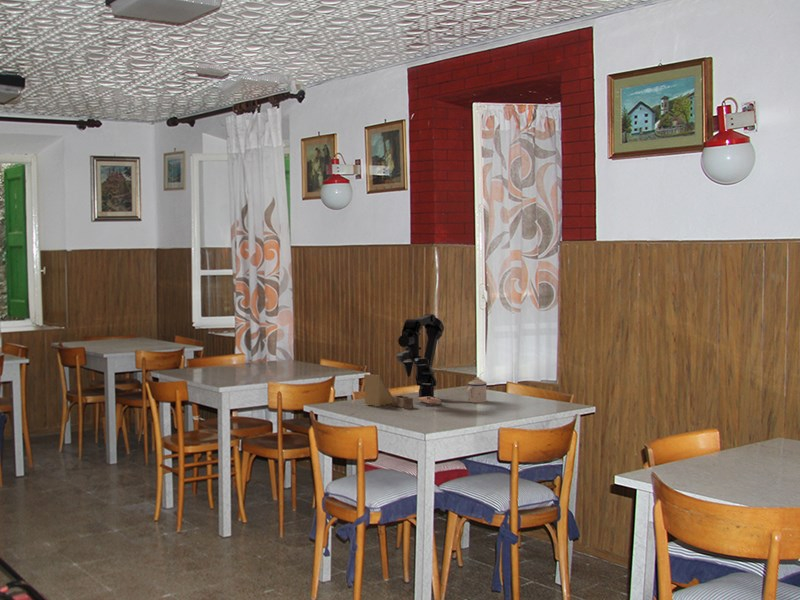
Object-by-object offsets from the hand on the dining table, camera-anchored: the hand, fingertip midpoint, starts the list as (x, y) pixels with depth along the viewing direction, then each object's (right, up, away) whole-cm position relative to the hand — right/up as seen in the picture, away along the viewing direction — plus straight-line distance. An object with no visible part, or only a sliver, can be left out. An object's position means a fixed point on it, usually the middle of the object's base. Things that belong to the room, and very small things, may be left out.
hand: (413, 377), depth 434 cm
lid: (+7, -11, -4) cm, 13 cm away
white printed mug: (+30, -12, +1) cm, 32 cm away
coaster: (+7, -12, -3) cm, 14 cm away
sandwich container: (-16, -13, 0) cm, 20 cm away
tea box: (-5, -13, -10) cm, 17 cm away
